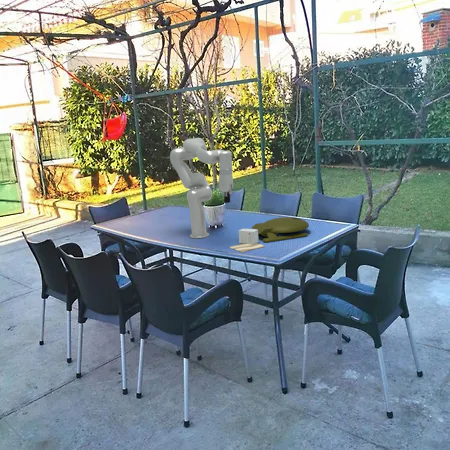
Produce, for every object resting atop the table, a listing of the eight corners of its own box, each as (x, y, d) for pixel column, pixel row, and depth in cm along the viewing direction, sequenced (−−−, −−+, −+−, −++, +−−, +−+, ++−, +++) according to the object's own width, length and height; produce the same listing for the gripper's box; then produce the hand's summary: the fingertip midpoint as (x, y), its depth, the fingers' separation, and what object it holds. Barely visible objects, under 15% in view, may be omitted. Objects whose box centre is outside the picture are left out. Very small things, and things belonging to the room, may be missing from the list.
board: (229, 247, 280) (229, 246, 279) (251, 242, 287) (251, 241, 287) (242, 252, 268) (241, 251, 268) (265, 246, 275) (265, 245, 275)
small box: (243, 240, 290) (258, 242, 285) (239, 243, 285) (254, 244, 280) (242, 228, 288) (258, 229, 283) (238, 230, 283) (254, 231, 278)
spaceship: (264, 244, 283) (263, 228, 281) (248, 232, 312) (247, 218, 310) (317, 235, 291) (317, 220, 289) (297, 225, 320) (296, 211, 318)
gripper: (214, 171, 283) (215, 201, 288) (227, 174, 271) (228, 205, 275) (224, 170, 287) (226, 199, 292) (238, 172, 274) (239, 203, 279)
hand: (227, 202), depth 284 cm, fingers closed
